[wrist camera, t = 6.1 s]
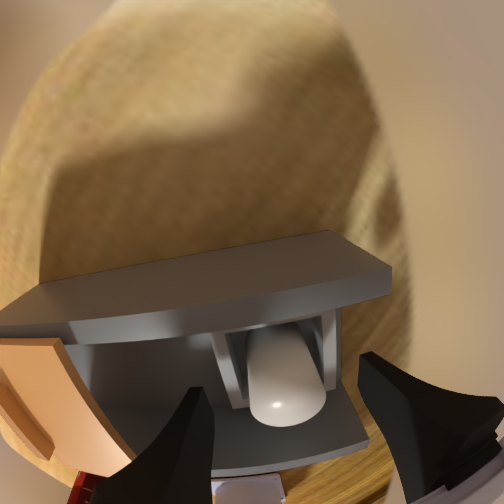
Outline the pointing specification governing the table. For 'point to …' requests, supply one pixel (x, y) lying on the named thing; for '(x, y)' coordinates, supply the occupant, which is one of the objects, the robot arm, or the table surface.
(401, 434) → the robot arm
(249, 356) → the white rounded piece
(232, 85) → the table surface
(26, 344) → the lid
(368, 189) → the table surface
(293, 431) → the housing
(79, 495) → the canned food
